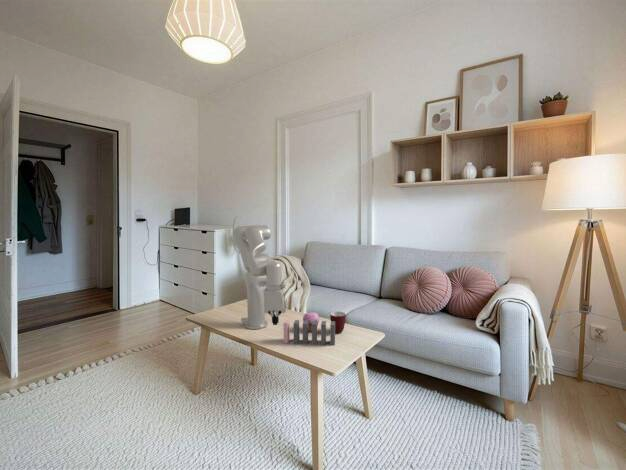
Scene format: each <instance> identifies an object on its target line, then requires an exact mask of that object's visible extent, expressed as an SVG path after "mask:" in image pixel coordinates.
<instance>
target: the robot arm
mask: <svg viewBox="0 0 626 470" xmlns="http://www.w3.org/2000/svg"><path fill="white" fill-rule="evenodd" d="M271 235H272V231H271V229H270V227H269V226H268V225H265V224H264V225H263V224H261V225H260V224H259V225H258V224H257V225H240V226H236V227H234V229H233V231H232V238H233V241H234V244H235V247H236V248H237V249H238V251H239V253H240V257H241V260H242V264H243V268H244V270H246V271H248V272H246V274H245V276H244V282H245V285H246V296H247V297H246V298H247V299H246V300H247V316H246V317H241V318H240V321H241V323H244V327H245V328H247V330H248V329H249V330H259V329H264V328H266V327H267V326H268V321H267V320H266V316H265V315H266V314H268V315H270V317H271V323H272V325H273V326H277V325H278V323H280V322H279V320H280V319H279V317H280V316H281V314H284V313H286V312H287V311H286V310H287V309H286V306H287V305H286V304H287V303H286V295H285V290H284V289H285V287H286V286H285V284H283V282H282V278H283V277H282V274H283V273H282V263H280V262H277V261H275V260H272V259H271V257H270V256H269V254H268V253H264V252H265V251H266V250H267V243H266V241H267V240H269V239H270V238H271ZM261 287H266V290H265V292H264V291H263V290H262V288H261ZM274 311H276V312H274ZM265 313H266V314H265Z"/></svg>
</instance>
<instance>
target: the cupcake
mask: <svg viewBox="0 0 626 470" xmlns="http://www.w3.org/2000/svg"><path fill="white" fill-rule="evenodd" d="M304 320H308V333H312V322H313V321H317V327H318V325H319V322H320V316H319V314H318V313H317V312H315V311H314V312H313V311H312V312H311V311H308V312H305V314H304V315H303V317H302V321H303V322H304Z"/></svg>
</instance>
